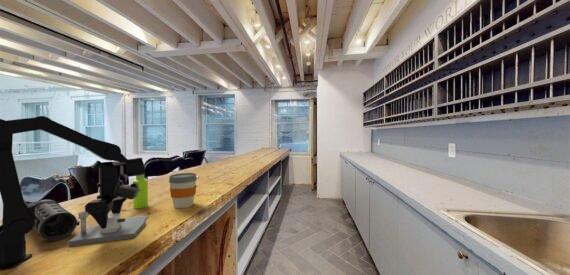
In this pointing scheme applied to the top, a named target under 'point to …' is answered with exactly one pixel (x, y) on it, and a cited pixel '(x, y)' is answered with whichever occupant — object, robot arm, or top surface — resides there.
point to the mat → (136, 219)
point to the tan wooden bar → (83, 214)
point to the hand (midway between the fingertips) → (110, 223)
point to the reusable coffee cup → (183, 189)
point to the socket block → (95, 235)
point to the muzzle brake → (53, 220)
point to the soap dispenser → (141, 192)
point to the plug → (113, 223)
